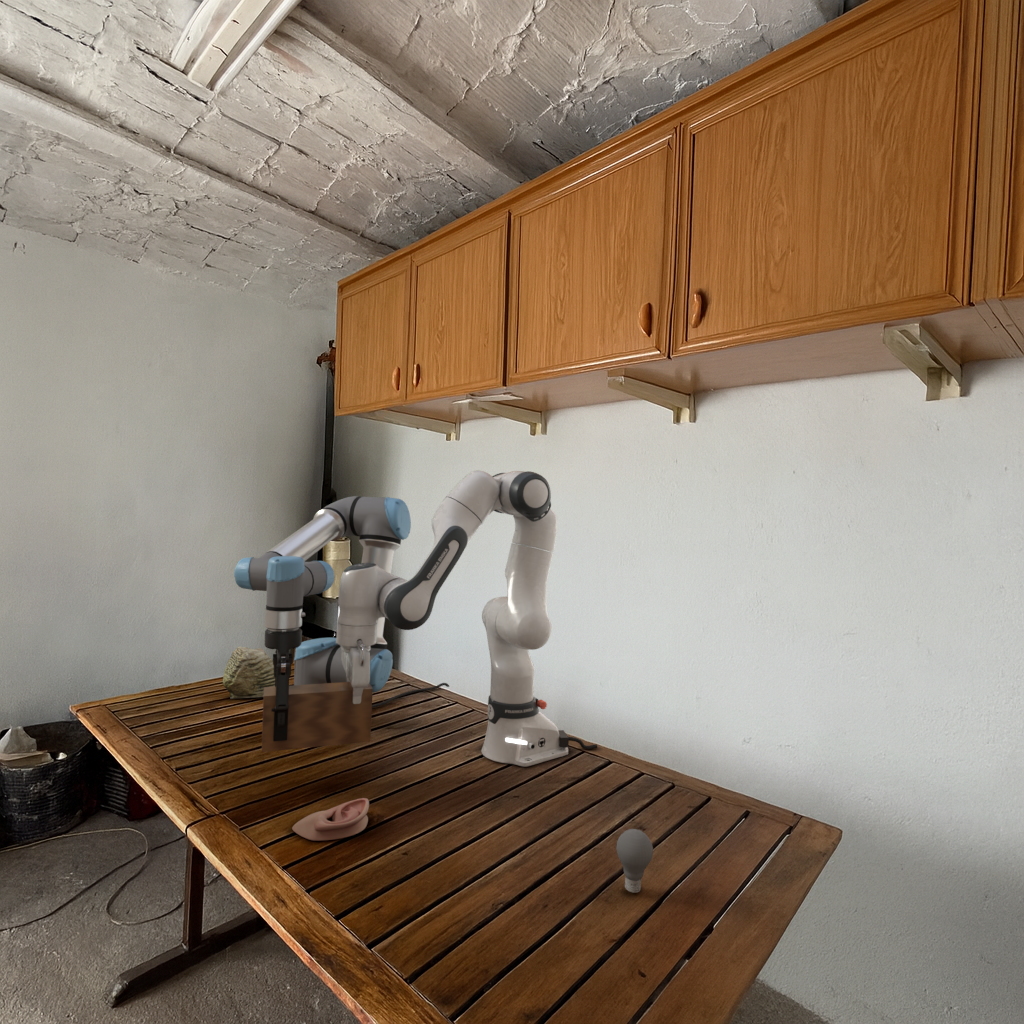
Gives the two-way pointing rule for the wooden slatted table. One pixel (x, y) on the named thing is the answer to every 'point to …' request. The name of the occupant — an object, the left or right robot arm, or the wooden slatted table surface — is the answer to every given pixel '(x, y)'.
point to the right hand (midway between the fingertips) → (353, 696)
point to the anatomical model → (335, 821)
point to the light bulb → (634, 857)
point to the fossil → (248, 673)
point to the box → (319, 716)
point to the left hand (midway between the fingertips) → (279, 733)
